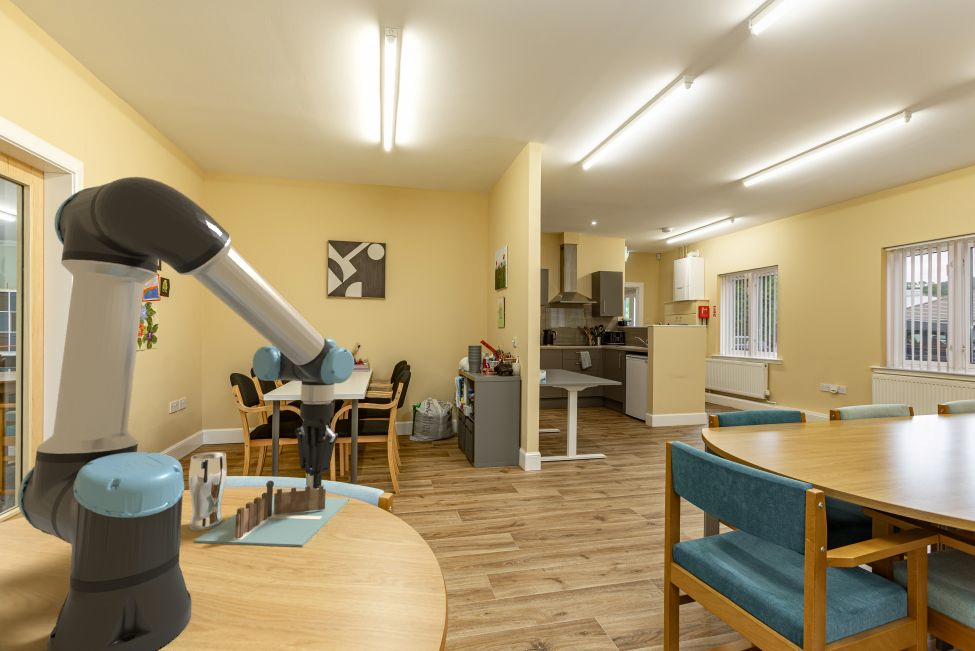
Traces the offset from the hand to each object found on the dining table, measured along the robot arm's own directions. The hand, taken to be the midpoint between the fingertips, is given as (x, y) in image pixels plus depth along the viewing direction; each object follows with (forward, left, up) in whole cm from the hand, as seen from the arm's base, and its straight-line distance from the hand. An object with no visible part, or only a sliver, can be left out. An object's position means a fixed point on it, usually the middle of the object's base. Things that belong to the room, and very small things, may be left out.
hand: (313, 500), depth 105 cm
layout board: (-5, +5, -2) cm, 7 cm away
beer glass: (-10, +19, -3) cm, 22 cm away
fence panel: (-3, +2, -2) cm, 4 cm away
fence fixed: (-11, +8, -2) cm, 14 cm away
